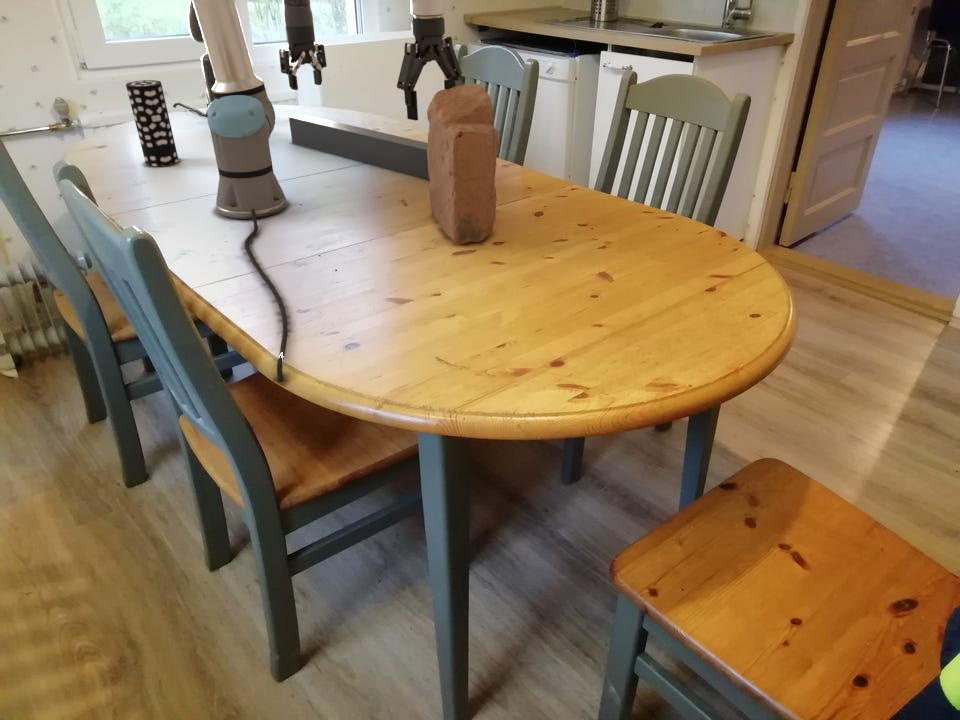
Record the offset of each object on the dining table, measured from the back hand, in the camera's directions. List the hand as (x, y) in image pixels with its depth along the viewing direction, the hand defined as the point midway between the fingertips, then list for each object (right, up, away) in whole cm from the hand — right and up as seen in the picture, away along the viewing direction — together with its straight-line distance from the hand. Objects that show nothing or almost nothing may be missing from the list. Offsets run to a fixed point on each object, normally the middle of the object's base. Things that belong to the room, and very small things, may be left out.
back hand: (306, 87), depth 193 cm
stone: (+45, -47, -43) cm, 78 cm away
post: (+22, -23, -5) cm, 32 cm away
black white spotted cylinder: (-37, -14, -12) cm, 42 cm away
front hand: (+37, -17, -27) cm, 49 cm away
